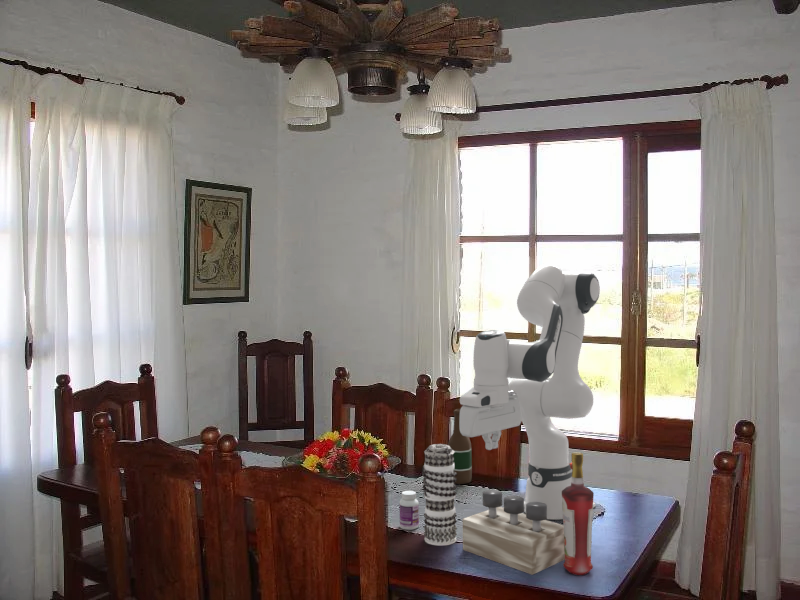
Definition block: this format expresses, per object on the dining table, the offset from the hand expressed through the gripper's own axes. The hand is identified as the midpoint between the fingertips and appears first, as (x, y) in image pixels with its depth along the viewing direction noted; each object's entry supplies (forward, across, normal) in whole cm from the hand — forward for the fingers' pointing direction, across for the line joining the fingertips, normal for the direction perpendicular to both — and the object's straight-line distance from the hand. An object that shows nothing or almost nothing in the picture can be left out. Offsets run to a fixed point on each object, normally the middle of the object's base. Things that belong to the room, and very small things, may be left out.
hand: (491, 448), depth 196 cm
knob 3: (+19, 0, +14) cm, 24 cm away
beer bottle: (+26, -37, -46) cm, 64 cm away
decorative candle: (+26, +6, -13) cm, 29 cm away
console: (+26, 0, +7) cm, 26 cm away
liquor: (+26, -2, +24) cm, 35 cm away
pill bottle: (+26, +5, -26) cm, 37 cm away
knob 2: (+20, 0, +7) cm, 21 cm away
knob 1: (+19, 0, 0) cm, 19 cm away
